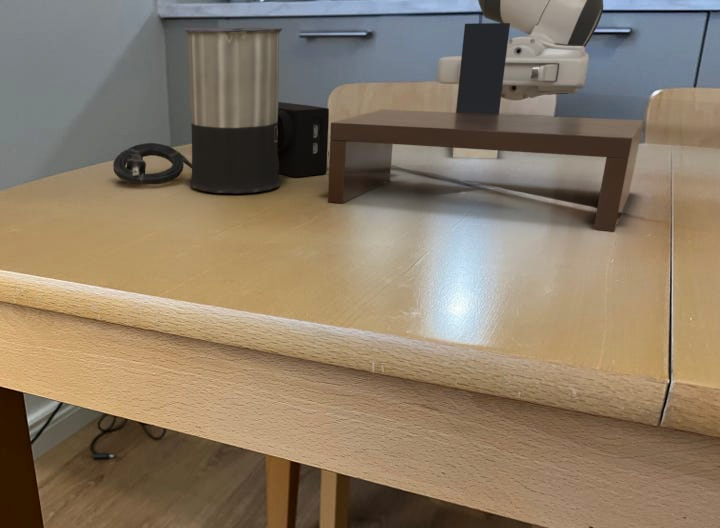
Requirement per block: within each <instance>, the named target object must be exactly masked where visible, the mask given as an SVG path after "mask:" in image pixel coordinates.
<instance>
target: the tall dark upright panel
mask: <svg viewBox="0 0 720 528" xmlns="http://www.w3.org/2000/svg"><path fill="white" fill-rule="evenodd" d="M510 27H511V26H510V23H499V22H489V23H488V22H487V23H486V22H485V23H484V22H483V23H482V22H481V23H480V22H479V23H474V22H473V23H472V22H471V23H464V29H463V38H462V49H461V56H462V57H461V67H460V77H459V84H458V88H457V97H456V108H455V113H477V114H500V109H501V100H502V97H501V93H502V85H503V77H504V69H505V61H506V53H507V45H508V40H509V35H510ZM498 152H499V151H498V150H482V149H465V148H452V158H462V159H463V158H467V159H469V158H470V159H498V154H499V153H498Z"/></svg>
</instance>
